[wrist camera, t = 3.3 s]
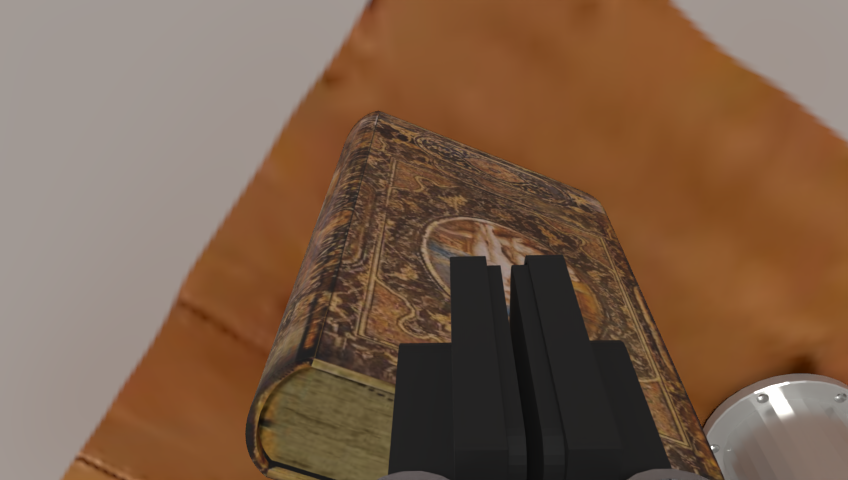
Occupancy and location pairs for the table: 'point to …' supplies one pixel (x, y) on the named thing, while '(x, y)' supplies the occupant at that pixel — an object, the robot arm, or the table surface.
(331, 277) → the book
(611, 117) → the table surface
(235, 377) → the table surface
